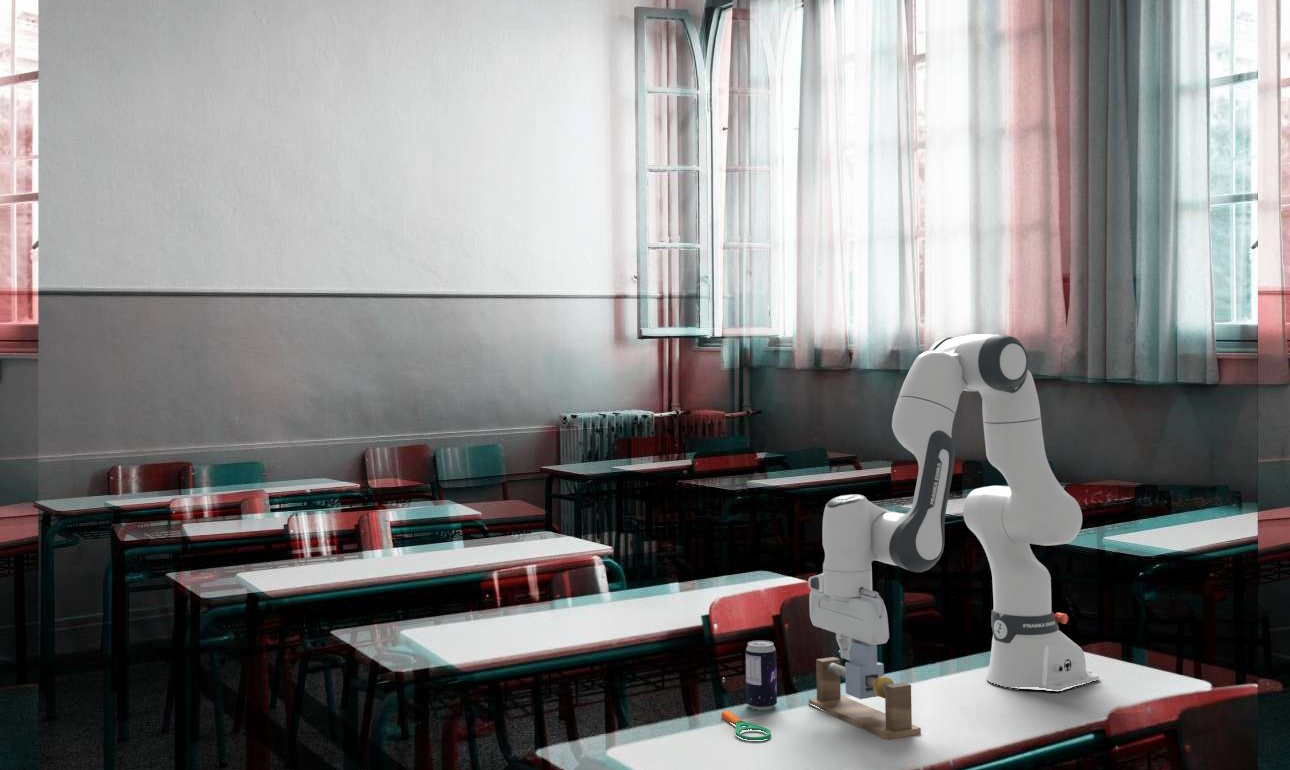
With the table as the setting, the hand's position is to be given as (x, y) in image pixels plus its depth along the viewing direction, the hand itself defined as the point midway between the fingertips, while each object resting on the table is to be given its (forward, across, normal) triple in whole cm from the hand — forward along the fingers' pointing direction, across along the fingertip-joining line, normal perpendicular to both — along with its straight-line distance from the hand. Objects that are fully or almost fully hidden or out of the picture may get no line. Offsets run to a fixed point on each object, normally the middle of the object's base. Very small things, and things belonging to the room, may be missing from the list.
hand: (849, 659), depth 209 cm
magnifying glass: (+10, +1, +22) cm, 24 cm away
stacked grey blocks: (+5, -5, 0) cm, 7 cm away
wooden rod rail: (+10, -4, 0) cm, 11 cm away
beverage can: (+10, +11, +12) cm, 19 cm away
